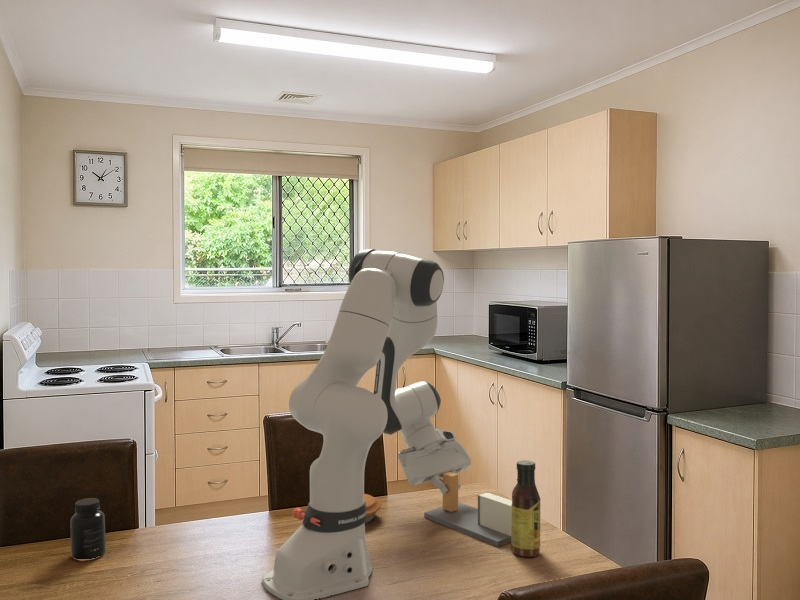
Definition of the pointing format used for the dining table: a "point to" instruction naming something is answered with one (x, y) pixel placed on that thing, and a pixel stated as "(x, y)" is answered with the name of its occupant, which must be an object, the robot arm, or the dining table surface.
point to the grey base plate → (479, 519)
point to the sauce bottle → (525, 512)
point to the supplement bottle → (87, 530)
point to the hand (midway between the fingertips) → (452, 490)
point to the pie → (371, 506)
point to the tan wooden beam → (451, 492)
